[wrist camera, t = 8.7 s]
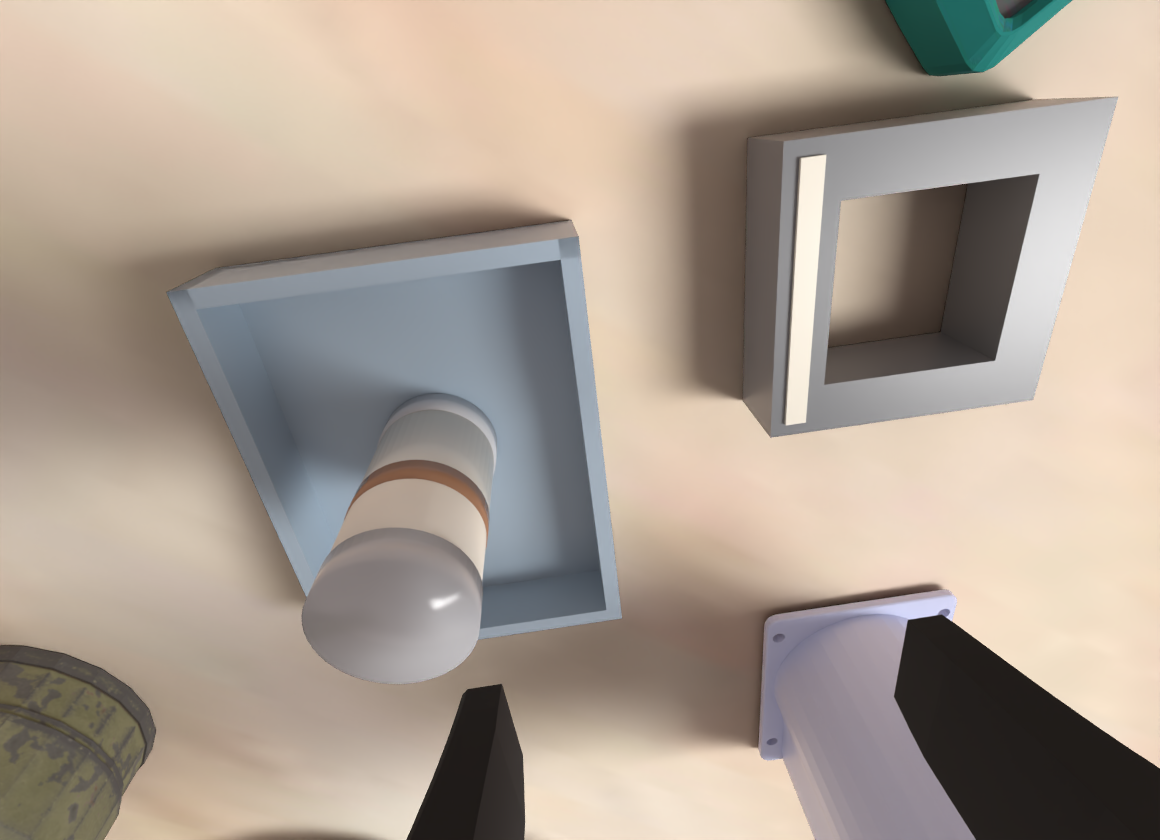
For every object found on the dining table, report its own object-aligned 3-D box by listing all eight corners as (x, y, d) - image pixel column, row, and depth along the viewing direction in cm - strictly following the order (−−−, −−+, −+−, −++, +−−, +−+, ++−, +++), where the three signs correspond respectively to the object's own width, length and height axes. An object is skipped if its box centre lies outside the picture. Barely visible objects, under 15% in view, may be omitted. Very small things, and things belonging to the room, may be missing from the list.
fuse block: (976, 368, 20) (1035, 401, 17) (742, 401, 19) (771, 439, 17) (1036, 99, 16) (1121, 96, 14) (747, 138, 16) (785, 141, 13)
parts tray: (612, 569, 22) (621, 618, 20) (354, 606, 22) (335, 661, 20) (571, 220, 16) (578, 236, 14) (215, 268, 16) (165, 292, 14)
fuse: (502, 486, 20) (487, 677, 13) (393, 492, 19) (323, 690, 13) (492, 390, 18) (470, 554, 11) (373, 396, 18) (281, 566, 11)
